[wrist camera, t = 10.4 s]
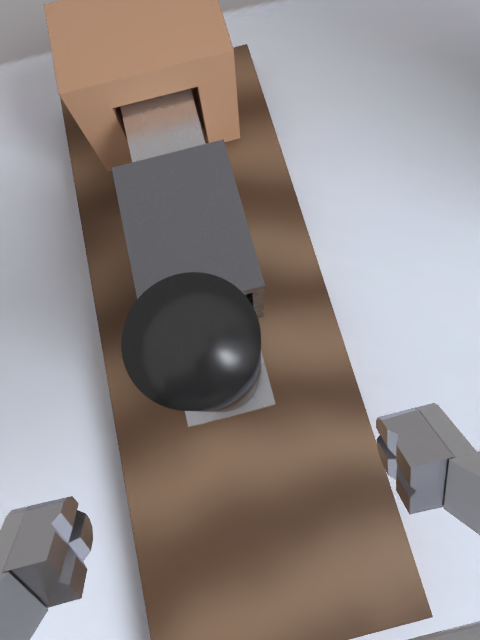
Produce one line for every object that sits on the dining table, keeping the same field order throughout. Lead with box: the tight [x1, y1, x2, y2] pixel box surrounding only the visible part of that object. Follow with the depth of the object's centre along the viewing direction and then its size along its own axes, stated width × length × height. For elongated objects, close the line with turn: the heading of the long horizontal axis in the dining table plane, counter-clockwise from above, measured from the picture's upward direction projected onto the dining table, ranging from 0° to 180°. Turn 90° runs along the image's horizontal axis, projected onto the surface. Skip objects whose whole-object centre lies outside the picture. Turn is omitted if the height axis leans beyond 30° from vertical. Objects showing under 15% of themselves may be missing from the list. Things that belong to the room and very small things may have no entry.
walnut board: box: [60, 44, 433, 640], centre depth 24 cm, size 37×14×2 cm, turn 14°
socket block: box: [44, 0, 240, 172], centre depth 23 cm, size 6×9×7 cm, turn 104°
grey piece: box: [120, 88, 275, 427], centre depth 18 cm, size 21×4×12 cm, turn 14°
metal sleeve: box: [112, 139, 265, 318], centre depth 21 cm, size 8×6×6 cm
